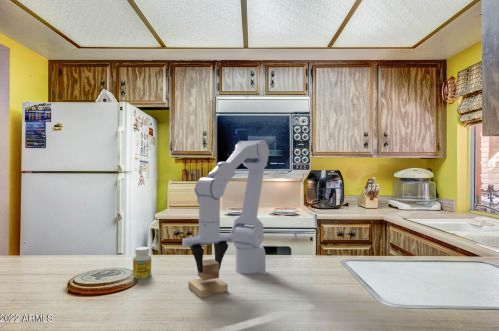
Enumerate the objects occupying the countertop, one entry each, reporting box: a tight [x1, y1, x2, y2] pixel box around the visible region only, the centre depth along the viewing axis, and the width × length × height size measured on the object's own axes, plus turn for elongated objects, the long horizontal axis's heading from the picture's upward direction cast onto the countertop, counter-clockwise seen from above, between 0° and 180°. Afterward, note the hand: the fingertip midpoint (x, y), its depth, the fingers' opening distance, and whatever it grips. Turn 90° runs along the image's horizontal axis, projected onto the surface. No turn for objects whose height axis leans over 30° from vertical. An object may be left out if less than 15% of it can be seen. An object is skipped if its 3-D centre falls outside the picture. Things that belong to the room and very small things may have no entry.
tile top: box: [187, 278, 228, 298], centre depth 85 cm, size 8×8×2 cm
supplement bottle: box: [132, 246, 152, 280], centre depth 95 cm, size 5×5×10 cm
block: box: [197, 258, 220, 281], centre depth 85 cm, size 4×4×4 cm
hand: (208, 270), depth 85 cm, fingers closed on block, 4 cm apart
